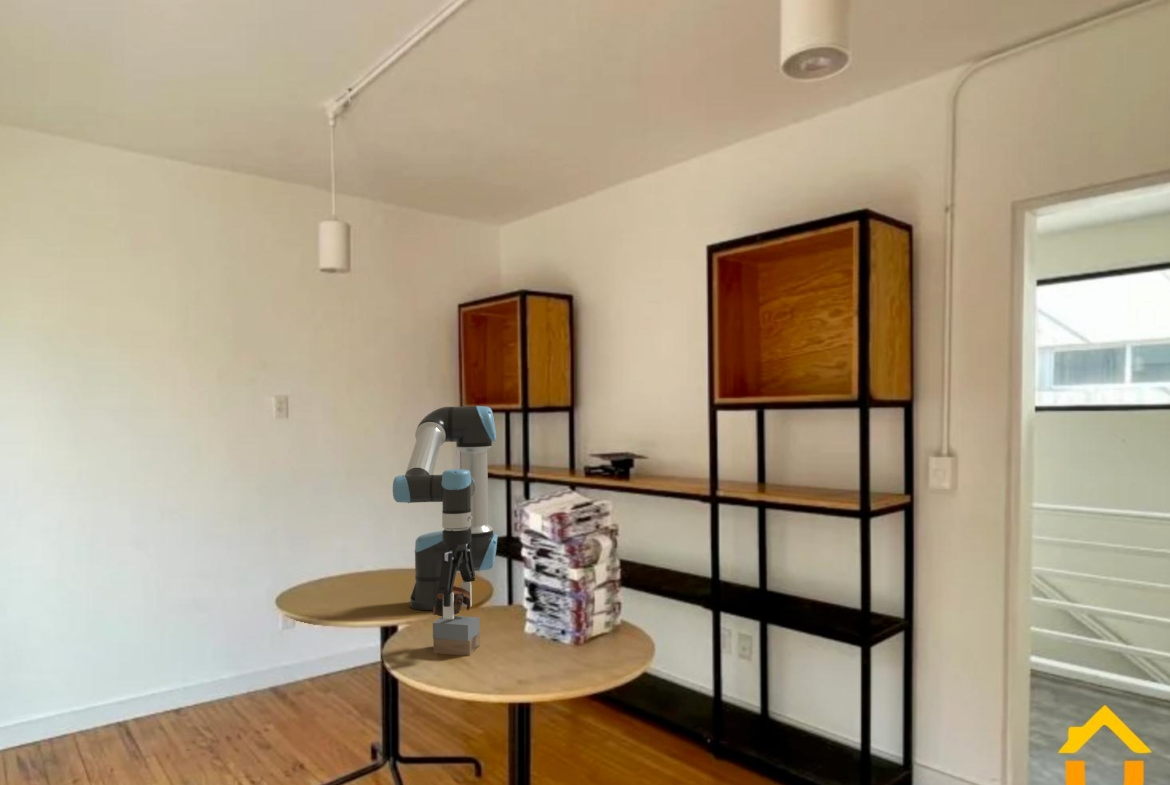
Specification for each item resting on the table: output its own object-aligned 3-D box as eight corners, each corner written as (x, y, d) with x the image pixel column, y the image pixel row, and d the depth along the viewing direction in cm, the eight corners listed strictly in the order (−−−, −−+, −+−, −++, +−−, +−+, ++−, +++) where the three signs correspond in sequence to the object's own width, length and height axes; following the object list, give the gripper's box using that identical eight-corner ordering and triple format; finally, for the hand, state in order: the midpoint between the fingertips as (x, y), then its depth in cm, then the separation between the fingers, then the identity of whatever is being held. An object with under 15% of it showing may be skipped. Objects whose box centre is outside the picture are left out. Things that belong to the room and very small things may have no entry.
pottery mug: (425, 614, 182) (436, 584, 186) (457, 626, 186) (467, 595, 190) (441, 613, 173) (452, 580, 177) (474, 624, 176) (484, 593, 180)
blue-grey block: (445, 630, 186) (445, 615, 186) (479, 632, 183) (479, 617, 183) (432, 638, 179) (432, 622, 179) (468, 641, 176) (467, 625, 176)
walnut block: (444, 645, 185) (444, 630, 185) (479, 647, 183) (479, 632, 183) (433, 654, 179) (433, 638, 179) (469, 656, 176) (469, 640, 176)
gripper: (451, 536, 170) (452, 626, 169) (486, 521, 193) (487, 601, 192) (423, 535, 172) (424, 624, 171) (461, 521, 195) (462, 599, 194)
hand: (457, 612), depth 182 cm, fingers closed on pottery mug, 11 cm apart
